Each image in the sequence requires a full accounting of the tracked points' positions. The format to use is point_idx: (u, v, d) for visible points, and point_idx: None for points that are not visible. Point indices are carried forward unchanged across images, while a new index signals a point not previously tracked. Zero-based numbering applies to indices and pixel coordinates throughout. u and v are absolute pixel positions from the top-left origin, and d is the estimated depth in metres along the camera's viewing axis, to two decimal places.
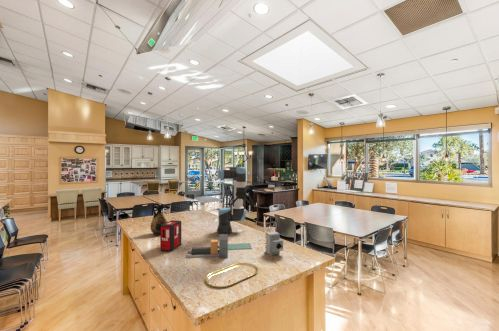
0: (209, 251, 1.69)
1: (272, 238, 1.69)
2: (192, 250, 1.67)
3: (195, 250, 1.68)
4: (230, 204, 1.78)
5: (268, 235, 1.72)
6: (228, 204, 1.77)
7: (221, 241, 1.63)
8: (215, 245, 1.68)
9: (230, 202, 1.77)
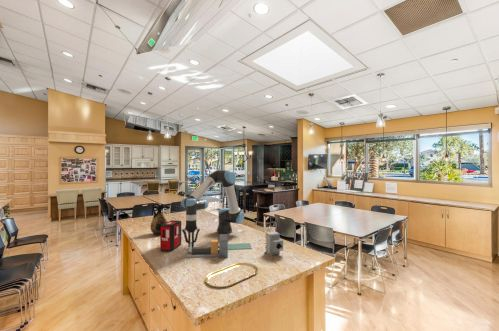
0: (209, 251, 1.69)
1: (272, 238, 1.69)
2: (192, 250, 1.67)
3: (195, 250, 1.68)
4: None
5: (268, 235, 1.72)
6: (186, 241, 1.67)
7: (221, 241, 1.63)
8: (216, 245, 1.68)
9: (186, 239, 1.67)
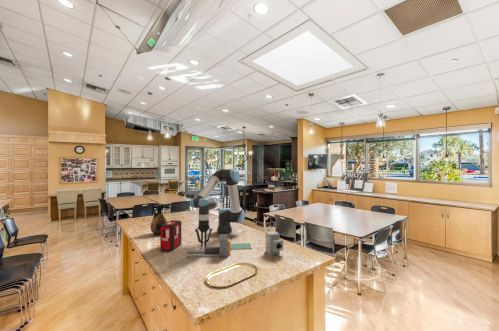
0: None
1: (272, 238, 1.69)
2: (205, 250, 1.68)
3: (208, 250, 1.68)
4: (200, 241, 1.69)
5: (268, 235, 1.72)
6: (198, 241, 1.68)
7: (221, 241, 1.63)
8: (228, 244, 1.69)
9: (199, 238, 1.68)
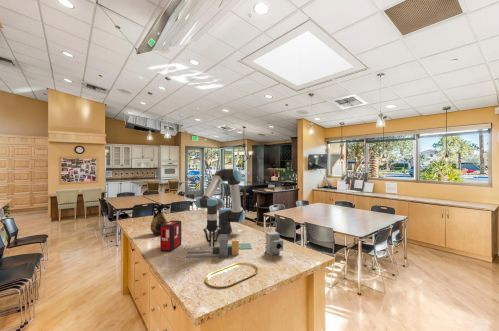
0: (230, 250, 1.70)
1: (272, 238, 1.69)
2: (213, 249, 1.69)
3: (216, 249, 1.69)
4: (209, 241, 1.69)
5: (268, 235, 1.72)
6: (207, 241, 1.69)
7: (221, 241, 1.63)
8: (236, 244, 1.69)
9: (207, 238, 1.69)
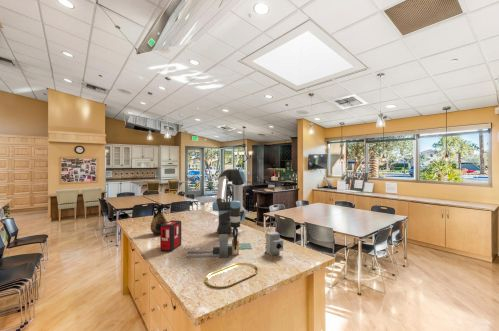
0: (230, 250, 1.70)
1: (272, 238, 1.69)
2: (214, 249, 1.69)
3: (216, 249, 1.69)
4: None
5: (268, 235, 1.72)
6: None
7: (221, 241, 1.63)
8: (237, 244, 1.69)
9: (233, 237, 1.77)
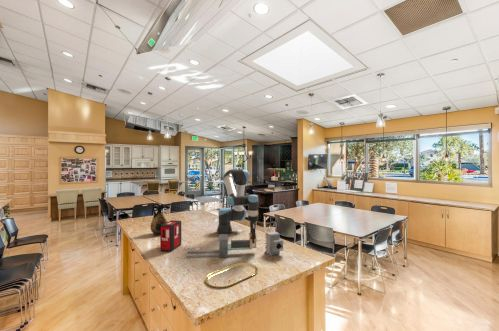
0: (248, 244, 1.72)
1: (272, 238, 1.69)
2: (232, 243, 1.71)
3: (234, 243, 1.71)
4: None
5: (268, 235, 1.72)
6: None
7: (221, 241, 1.63)
8: None
9: (250, 230, 1.78)
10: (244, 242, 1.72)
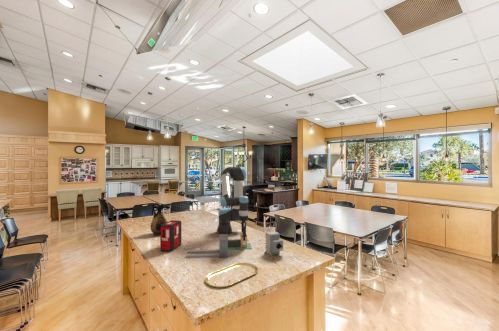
0: (239, 243, 1.85)
1: (272, 238, 1.69)
2: None
3: None
4: (242, 230, 1.94)
5: (268, 235, 1.72)
6: (241, 229, 1.95)
7: (221, 241, 1.63)
8: None
9: (241, 228, 1.94)
10: (235, 241, 1.85)
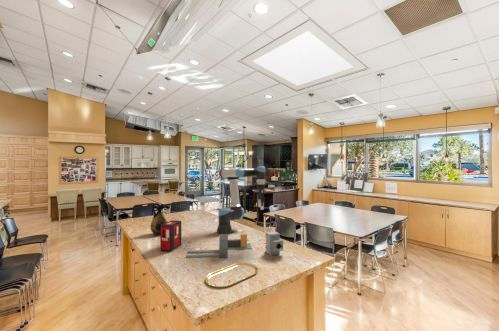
0: (239, 243, 1.85)
1: (272, 238, 1.69)
2: None
3: None
4: None
5: (268, 235, 1.72)
6: (258, 197, 2.10)
7: (221, 241, 1.63)
8: (245, 237, 1.84)
9: (258, 196, 2.08)
10: (235, 241, 1.85)
